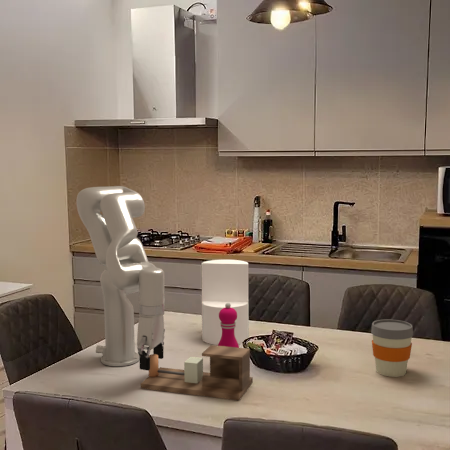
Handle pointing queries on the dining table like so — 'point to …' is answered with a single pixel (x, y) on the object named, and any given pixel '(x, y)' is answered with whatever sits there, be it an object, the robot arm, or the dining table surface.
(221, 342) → the pepper mill
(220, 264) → the cylinder
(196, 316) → the dining table surface
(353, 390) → the dining table surface
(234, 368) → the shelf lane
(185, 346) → the dining table surface
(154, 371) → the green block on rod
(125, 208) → the robot arm
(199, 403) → the dining table surface
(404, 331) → the reusable coffee cup
